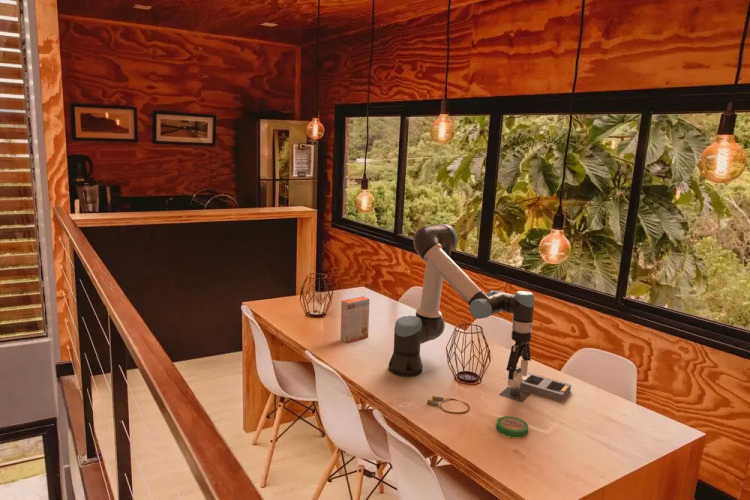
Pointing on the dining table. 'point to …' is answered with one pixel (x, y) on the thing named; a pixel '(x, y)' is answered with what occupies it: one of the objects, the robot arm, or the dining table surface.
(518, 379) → the plug
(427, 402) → the looped connector cable
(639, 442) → the dining table surface
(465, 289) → the robot arm
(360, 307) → the cracker box
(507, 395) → the plate
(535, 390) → the socket block
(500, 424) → the tape roll
